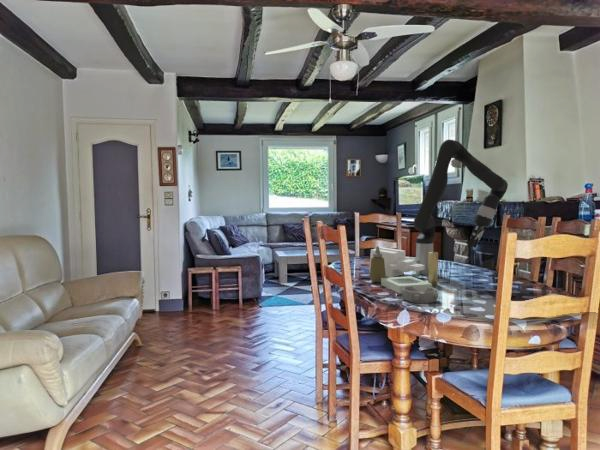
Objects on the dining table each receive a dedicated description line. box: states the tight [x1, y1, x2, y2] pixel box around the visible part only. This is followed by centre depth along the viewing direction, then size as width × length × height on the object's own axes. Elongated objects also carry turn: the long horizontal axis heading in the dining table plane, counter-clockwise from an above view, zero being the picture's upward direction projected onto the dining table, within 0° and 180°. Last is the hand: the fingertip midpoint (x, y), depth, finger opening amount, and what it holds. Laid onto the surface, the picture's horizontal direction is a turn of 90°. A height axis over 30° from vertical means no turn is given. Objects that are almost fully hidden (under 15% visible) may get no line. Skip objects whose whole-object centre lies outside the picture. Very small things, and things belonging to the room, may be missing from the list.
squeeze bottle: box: [369, 245, 386, 283], centre depth 217 cm, size 8×8×18 cm
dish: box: [401, 286, 439, 304], centre depth 177 cm, size 14×14×5 cm
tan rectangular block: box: [427, 251, 439, 287], centre depth 206 cm, size 4×4×16 cm
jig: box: [380, 276, 433, 295], centre depth 200 cm, size 20×16×4 cm
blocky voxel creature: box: [368, 246, 425, 278], centre depth 233 cm, size 15×25×28 cm
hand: (471, 246), depth 210 cm, fingers open, 8 cm apart
